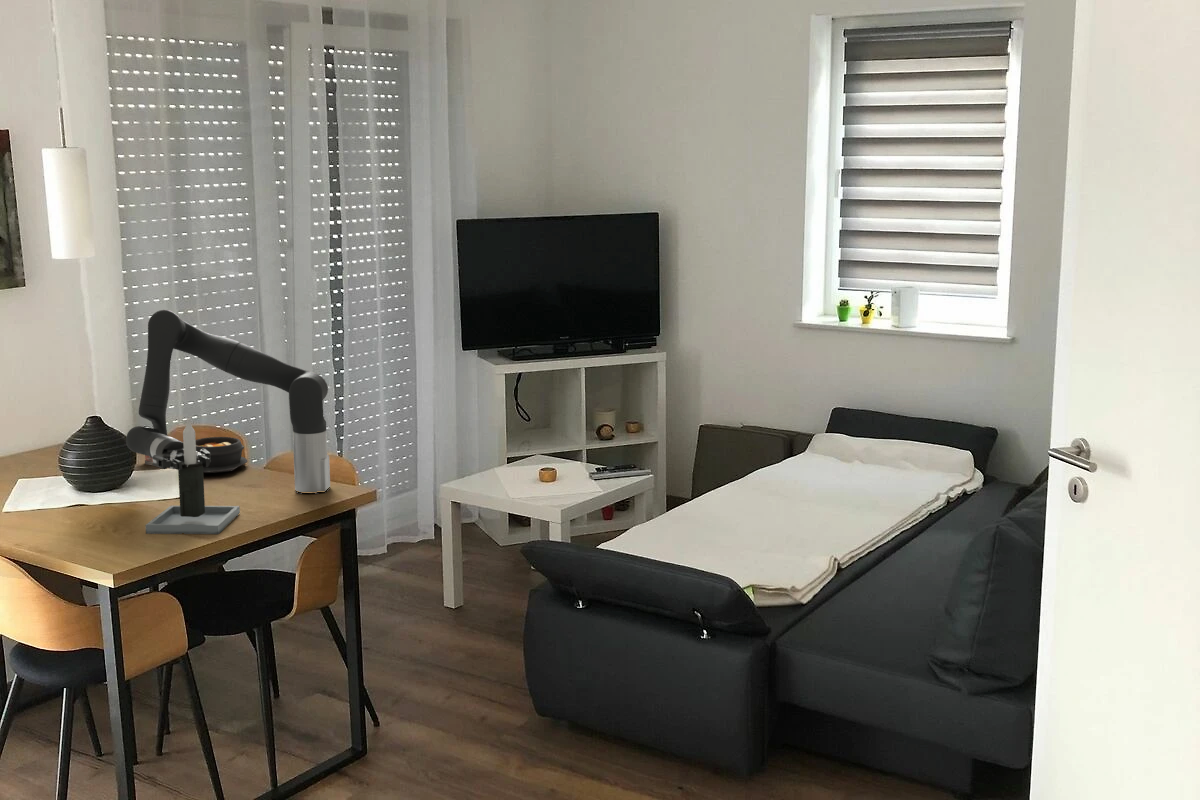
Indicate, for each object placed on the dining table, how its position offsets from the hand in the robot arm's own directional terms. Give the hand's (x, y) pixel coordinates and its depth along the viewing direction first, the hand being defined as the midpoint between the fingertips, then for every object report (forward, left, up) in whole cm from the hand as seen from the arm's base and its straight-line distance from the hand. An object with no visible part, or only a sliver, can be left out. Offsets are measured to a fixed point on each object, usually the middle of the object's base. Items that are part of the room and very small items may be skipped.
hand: (194, 464), depth 301 cm
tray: (+1, -2, -16) cm, 16 cm away
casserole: (+14, -61, -16) cm, 65 cm away
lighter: (+34, -66, -16) cm, 76 cm away
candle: (+2, -2, -14) cm, 14 cm away
